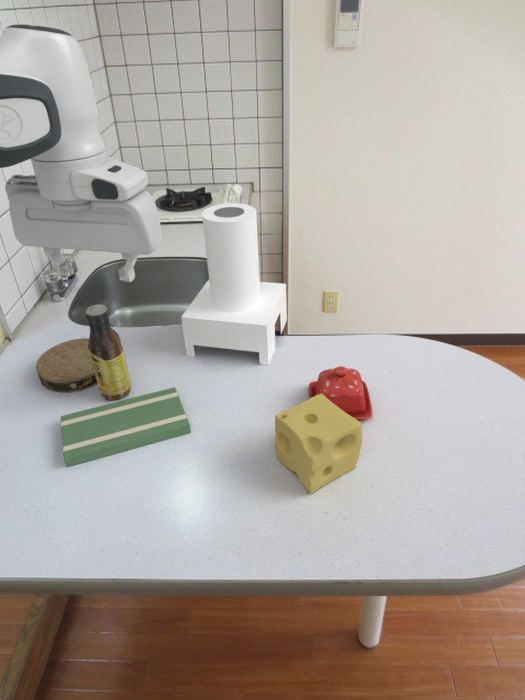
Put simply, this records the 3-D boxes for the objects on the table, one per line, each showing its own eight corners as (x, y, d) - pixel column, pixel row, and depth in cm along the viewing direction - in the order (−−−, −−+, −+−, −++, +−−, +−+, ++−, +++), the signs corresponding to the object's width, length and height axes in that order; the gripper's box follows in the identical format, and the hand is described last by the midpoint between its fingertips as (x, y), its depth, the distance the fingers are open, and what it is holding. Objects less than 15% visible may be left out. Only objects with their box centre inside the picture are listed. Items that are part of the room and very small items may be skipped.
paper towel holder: (286, 320, 128) (284, 198, 111) (268, 365, 113) (262, 232, 96) (213, 313, 132) (201, 195, 115) (186, 355, 117) (167, 226, 100)
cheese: (310, 496, 83) (311, 451, 77) (272, 456, 90) (270, 412, 85) (360, 468, 87) (364, 423, 82) (320, 431, 95) (321, 388, 89)
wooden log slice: (127, 353, 119) (125, 342, 117) (92, 397, 106) (88, 385, 104) (65, 345, 122) (62, 335, 121) (24, 387, 110) (19, 376, 108)
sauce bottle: (100, 386, 109) (77, 302, 98) (130, 380, 110) (111, 297, 99) (102, 406, 104) (78, 319, 92) (134, 399, 105) (114, 313, 94)
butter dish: (310, 424, 97) (311, 388, 92) (308, 385, 106) (308, 351, 101) (373, 424, 96) (377, 387, 91) (365, 385, 106) (368, 350, 101)
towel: (66, 467, 90) (63, 458, 89) (63, 424, 100) (60, 415, 99) (190, 432, 96) (189, 424, 95) (176, 394, 106) (174, 386, 104)
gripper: (-15, 181, 65) (18, 281, 73) (137, 187, 61) (154, 293, 68) (16, 167, 70) (44, 262, 78) (158, 172, 66) (172, 273, 74)
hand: (96, 277), depth 73 cm, fingers open, 8 cm apart
